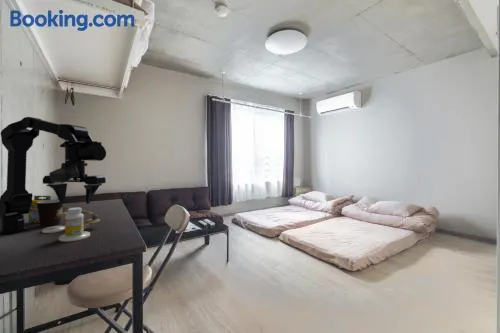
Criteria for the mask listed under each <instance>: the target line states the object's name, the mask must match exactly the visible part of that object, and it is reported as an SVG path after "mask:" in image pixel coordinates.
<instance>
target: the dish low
mask: <svg viewBox="0 0 500 333" xmlns="http://www.w3.org/2000/svg"><path fill="white" fill-rule="evenodd" d="M90 236H91V232H90V231H86V230H85V231H84V233H83V235H81V236H77V237H65V233H64V234H62V235H60V236H58V241H59V242H61V243H62V242H64V243H66V242H67V243H69V242H77V241H81V240H85V239H87V238H90Z"/></svg>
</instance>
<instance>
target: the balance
mask: <svg viewBox="0 0 500 333" xmlns="http://www.w3.org/2000/svg"><path fill="white" fill-rule="evenodd" d="M69 208H72V207H70V206H66V205H64V206H63V207H62V213H58V214H56V216H61V217H65V216H66V215H68V209H69ZM65 210H67V211H66V212H65ZM81 213H82V214H83V215H84V214H85V215H89V216H91V217H92V218H90V219H86V220H85V223H84V230H85V229H87V228H89V227H91V224H95V223H98V222H100V221H101V219H100V218H98V214H94V212H93V211H92V212H91V211H88V210H83V209H82V212H81Z"/></svg>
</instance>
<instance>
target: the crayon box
mask: <svg viewBox="0 0 500 333" xmlns="http://www.w3.org/2000/svg"><path fill="white" fill-rule="evenodd" d="M33 197H34V198H33V199H32V202H33V203H32V204H31V207H30V211H29V213H28V223H31V224H36V223H37V224H38V223H39V224H40V220H39V214H38V208H37V202H39V201H45V200H52V199H51V198H52V197H51V195H33Z"/></svg>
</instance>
